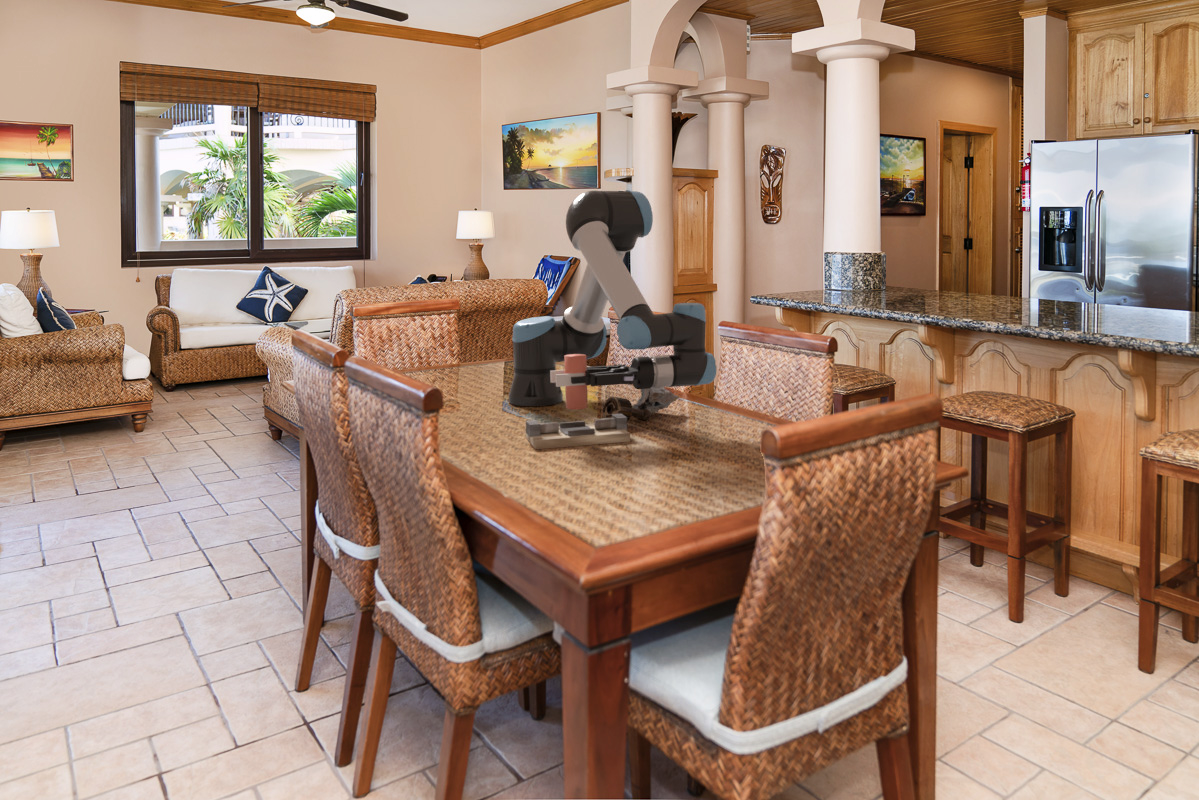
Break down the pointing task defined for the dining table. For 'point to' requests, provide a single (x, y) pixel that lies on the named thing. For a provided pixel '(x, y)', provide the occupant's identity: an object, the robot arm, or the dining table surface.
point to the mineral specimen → (655, 399)
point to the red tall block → (577, 394)
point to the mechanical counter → (623, 409)
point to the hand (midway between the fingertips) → (553, 378)
